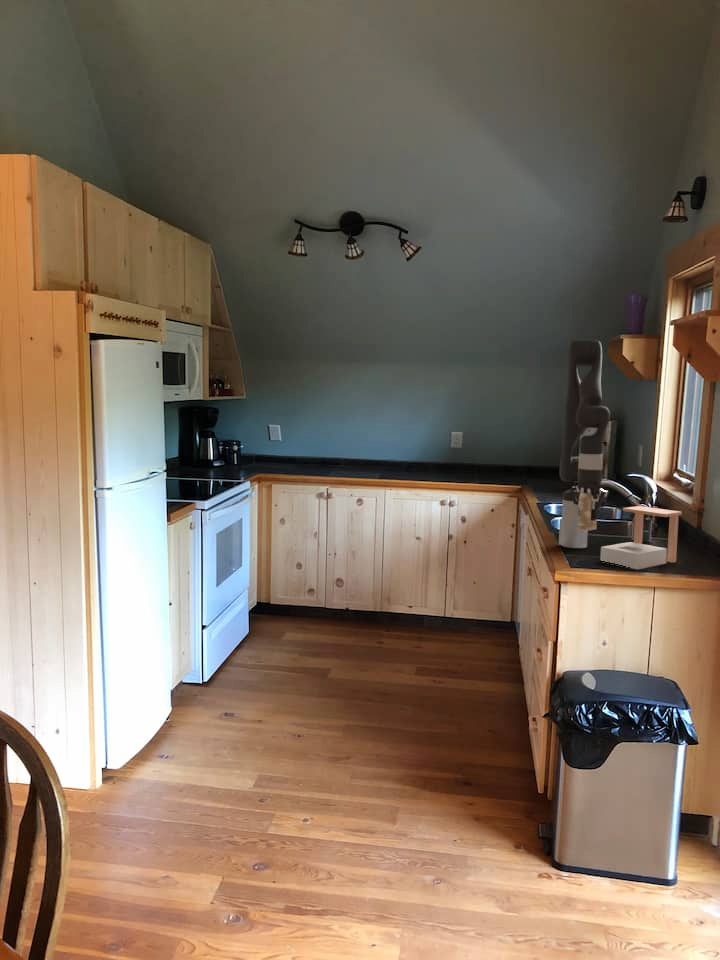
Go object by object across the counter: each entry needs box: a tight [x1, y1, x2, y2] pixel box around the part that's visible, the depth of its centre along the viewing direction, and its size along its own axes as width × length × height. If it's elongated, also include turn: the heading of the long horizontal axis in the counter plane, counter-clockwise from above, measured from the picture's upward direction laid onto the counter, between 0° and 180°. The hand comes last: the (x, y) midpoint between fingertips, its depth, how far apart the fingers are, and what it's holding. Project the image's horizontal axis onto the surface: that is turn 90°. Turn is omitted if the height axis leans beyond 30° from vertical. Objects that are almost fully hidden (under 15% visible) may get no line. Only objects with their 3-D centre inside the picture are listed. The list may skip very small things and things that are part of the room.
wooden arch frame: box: [622, 505, 683, 563], centre depth 249 cm, size 16×10×17 cm, turn 35°
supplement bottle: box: [631, 514, 653, 543], centre depth 282 cm, size 7×7×12 cm
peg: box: [579, 493, 598, 531], centre depth 242 cm, size 4×4×12 cm
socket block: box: [599, 541, 668, 570], centre depth 245 cm, size 14×16×5 cm
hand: (588, 518), depth 242 cm, fingers closed on peg, 4 cm apart
